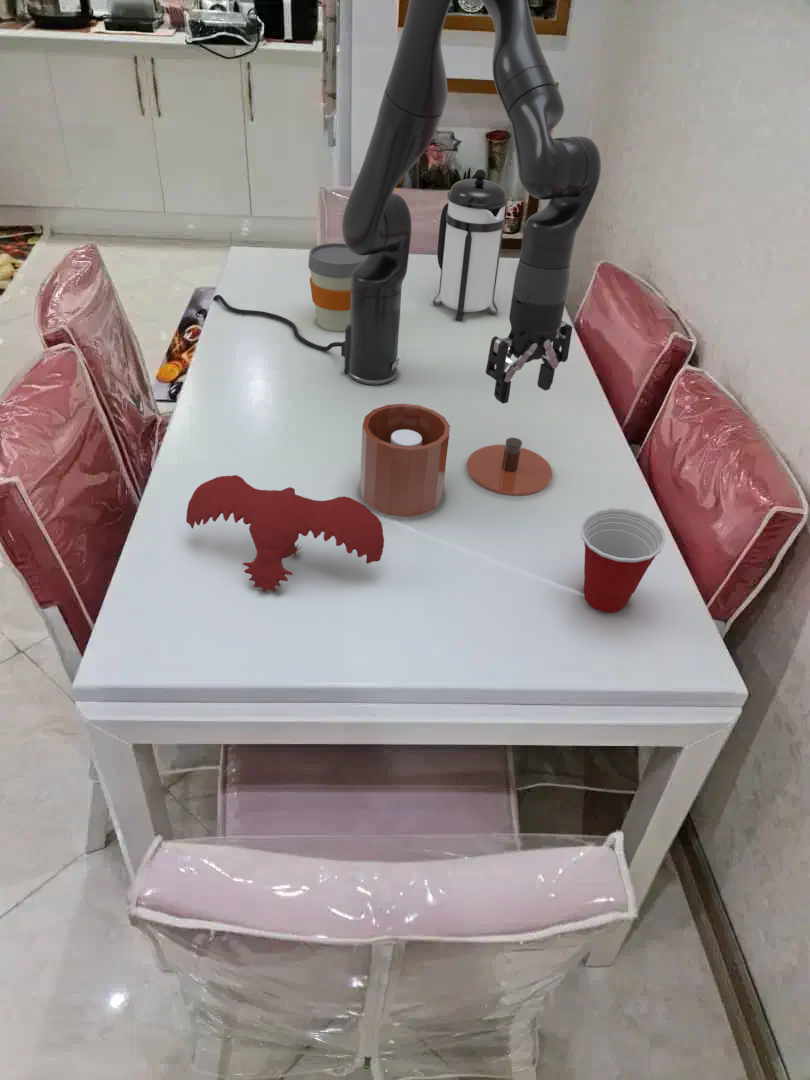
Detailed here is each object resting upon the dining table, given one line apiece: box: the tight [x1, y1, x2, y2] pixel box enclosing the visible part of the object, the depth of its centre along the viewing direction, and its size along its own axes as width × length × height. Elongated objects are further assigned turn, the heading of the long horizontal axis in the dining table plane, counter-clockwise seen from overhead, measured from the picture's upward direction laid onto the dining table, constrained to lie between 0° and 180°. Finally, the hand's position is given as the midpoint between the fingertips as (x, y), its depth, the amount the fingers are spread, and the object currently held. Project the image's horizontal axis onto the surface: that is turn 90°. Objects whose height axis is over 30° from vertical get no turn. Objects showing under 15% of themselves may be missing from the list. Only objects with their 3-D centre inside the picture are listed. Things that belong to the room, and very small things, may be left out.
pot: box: [359, 403, 451, 518], centre depth 123 cm, size 13×13×12 cm
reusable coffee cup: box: [307, 242, 368, 333], centre depth 170 cm, size 13×13×15 cm
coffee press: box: [432, 168, 509, 322], centre depth 176 cm, size 17×16×30 cm
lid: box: [466, 437, 553, 497], centre depth 132 cm, size 14×14×6 cm
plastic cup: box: [579, 507, 667, 614], centre depth 107 cm, size 11×11×12 cm
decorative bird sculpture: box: [185, 474, 385, 594], centre depth 110 cm, size 28×9×15 cm
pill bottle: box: [390, 430, 422, 447], centre depth 124 cm, size 6×6×10 cm
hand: (522, 394), depth 124 cm, fingers open, 8 cm apart
